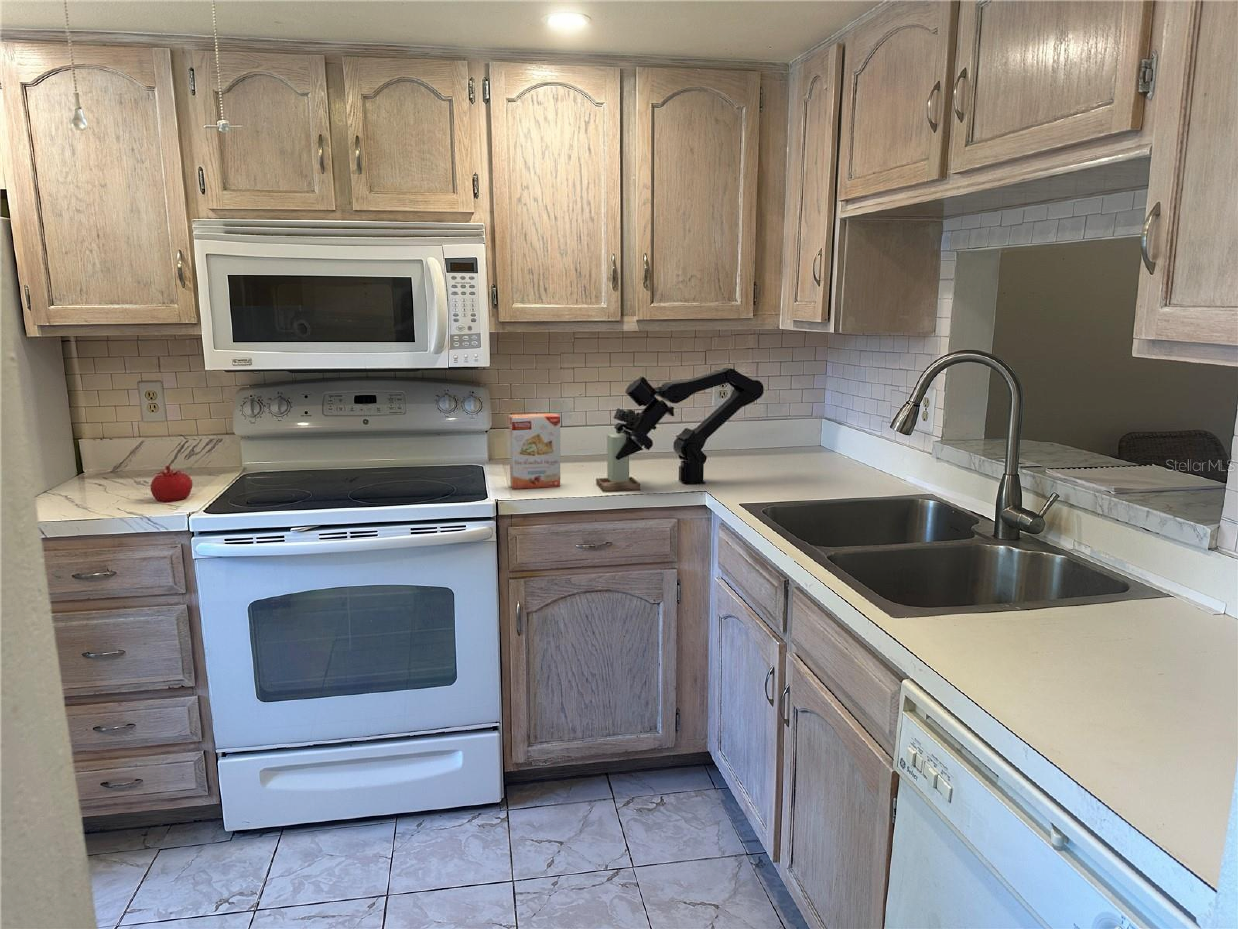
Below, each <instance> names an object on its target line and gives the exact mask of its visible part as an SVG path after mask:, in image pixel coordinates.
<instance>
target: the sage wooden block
mask: <svg viewBox="0 0 1238 929" xmlns="http://www.w3.org/2000/svg"><path fill="white" fill-rule="evenodd" d="M625 442H626V434H624V433H622V434H617V433H611V434H610V433H609V434H608V433H607V434H606V447H607V448H606V450H607V451H606V452H607V454H606V458H607V459H606V460H607V461H606V462H607V464H606V466H607V467H606V468H607V469H606V470H607V477H606V478H607V479H609V480H610V481H611V482H624V481H629V477H630V455H629V456H626V457H624V458H622V459H620V460H617V459H616V458H615V457H616V455H617V454H618V452H619V451H620V449H621V448H622V447H623V445H624V444H625Z"/></svg>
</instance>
